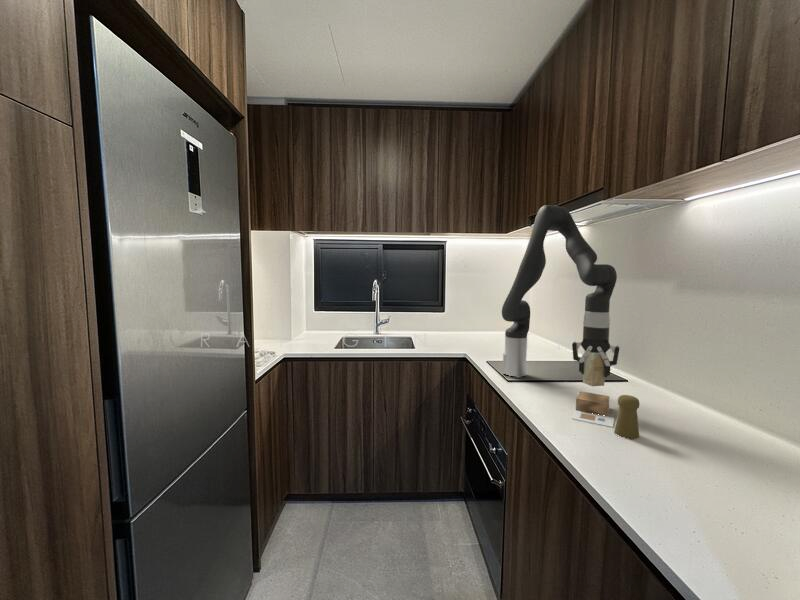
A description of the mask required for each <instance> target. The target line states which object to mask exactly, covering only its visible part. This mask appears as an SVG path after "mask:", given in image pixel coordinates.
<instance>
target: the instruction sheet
mask: <svg viewBox="0 0 800 600" xmlns="http://www.w3.org/2000/svg"><path fill="white" fill-rule="evenodd" d="M571 420H575V421H580V422H584V423H589V424H594V425H599V426H603V427H610V428H614V425H615V424H614V423H615V417H613V416H608V415H607V416H603V415H598V414H592V413H587V412H582V411H577V410H576V409H575V411H574V412H573V415H572V417H571Z"/></svg>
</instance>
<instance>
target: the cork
mask: <svg viewBox="0 0 800 600" xmlns="http://www.w3.org/2000/svg"><path fill="white" fill-rule="evenodd" d="M617 405H618V406H619V408H618V413H617V418H616V422H615V426H614V432H613V433H614V434H615V435H616V434H617V436H618V435H619V436H618V437H620V436H621V438H623V437H625V438H624V439H627V438H629V439H628V440H638V439H640V430H639V420H638V418H639V417H638V409H640V405H641V404H640V400H639V399H638V397H635V396H633V395H629V394H622V395H619V396H618V397H617Z"/></svg>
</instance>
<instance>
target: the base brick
mask: <svg viewBox="0 0 800 600" xmlns="http://www.w3.org/2000/svg"><path fill="white" fill-rule="evenodd" d="M575 400H576V401H575V410H577V411H582V412H587V413H593V414H599V415H605V416H608V414H609V410H610V395H607V394H606V395H605V394H600V393H593V392H587V391H581V390H579V392H578V394H577V395H576V399H575ZM608 409H609V410H608Z"/></svg>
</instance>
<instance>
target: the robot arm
mask: <svg viewBox="0 0 800 600" xmlns="http://www.w3.org/2000/svg"><path fill="white" fill-rule="evenodd" d="M548 231H552V232H558V233H560V234H561V235H562V236H563V238H564V239H565V249H566V253H567V255H568V256H569V258H570V259H571V260H572V262H573V263H574V264H575V266H576V269H577V270H576V271H577V273H578V275H579V278H580V280H581V282H582V283H584V284H585V285H587V286H589V287H595V289H594V292H592V293H588V294H587V295H586V296H585V300H584V301H585V303H584V315H583V321H582V322H583V324H582V325H583V328H582V330H583V332H582V340H581V342H577V341H573V342H572V344H571V347H572V359H573V361H576V362H578V372H579V373H580V375H583V373H584V360H585V358H586V357H587V355H588V354H589V352H597V353H600V355H601V357H602V359H603V360H604V362H605V364H606V365H605V378H608V377H609V376H610V375H611V366H617V364H618V360H619V353H620V349H621V348H620V347H621V346H620V345H611V344H610V325H611V323H610V322H611V317H610V303H611V297H612V295H613V292H614V289H615V287H616V284H617V279H618V276H617V275H618V273H617V271H616V268H615V267H614V266H613V265H611V264H605V263H603V264H597V261H598V255H597V253H596V251H595V250H594V249H593V248H592V247H591V245H589V243H588V242H587V241H586V239H585V238H584V237H583V235H582V233H581V232H580V230H579V228H578V226H577V224H576V222H575V220H574V218H573V216H572V215H571V213H570V211H569V210H568V209H567V208H566V207H563V206H559V205H552V204H551V205H550V204H544V205H543V206H541V207H540V208H539V209H538V211H537V213H536V216H535V219H534V223H533V226H532V231H531V234H530V236H529V237H530V238H529V240H528V244H527V246H526V249H525V252H524V255H523V258H522V260H521V262H520V265H519V268H518V271H517V274H516V275H515V278H514V281H513V284H512V286H511V287H510V291H509V292H508V294H507V297H506V298H505V300H504V302H503V304H502V307H501V316H502V319H503V320H504V321H505V322H509V323H513V324H512V325H511V326H510V327H509V328H507V329H506V330H505V333H504V353H503V354H502V356H503V357H502V358H503V359H502V375H503V374H506V375H509V376H508V377H510V376H519V377H518V378H521V377H520V376H525V375H527V348H528V346H527V345H528V334H529V331H530V324H531V323H530V322H531V306H530V304H529V303H528V302H527V301H526V300H523V298H524V296H525V295H526V294H527V293H528V292H529V291H530V290H531V289H532V288H533V287H534V286H535V285H536V284H537V283H538V281H540V278H541V277H542V275H543V272H544V269H545V267H546V265H547V264H546V263H547V261H546V260H547V258H546V252H545V248H544V242H545V239H546V236H547V233H548ZM580 347H582V349H583V350H584V353H583V354H582V355H581V356H579V351H578V349H580ZM609 350H611V352H612V353H613V356H612V357H613V358H612V360H610V358H609V356H608V355H607V352H608V351H609ZM605 353H606V355H605ZM506 375H505V376H506ZM525 377H526V376H525Z"/></svg>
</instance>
